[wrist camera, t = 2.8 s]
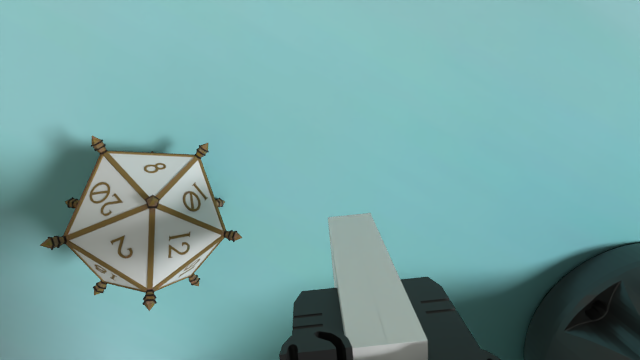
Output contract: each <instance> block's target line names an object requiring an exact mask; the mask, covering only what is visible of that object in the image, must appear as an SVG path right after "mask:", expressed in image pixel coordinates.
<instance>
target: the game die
mask: <svg viewBox="0 0 640 360" xmlns="http://www.w3.org/2000/svg"><path fill="white" fill-rule="evenodd" d="M102 141H103V140H100V139H98V138H96V137H94V136H92V145H91V147H92V146H93V147H94V150H95V151H98V152H99V153H100V156H99V158H98V160H97V163H96V165H95V167H94V169H93V171H92V174H91V176H90V178H89V180H88V182H87V185H86V187H85V189H84V191H83V193H82V196H81V198H80V200H78V199H74V198H73V197H72V198H71V199H70V200H68V201H65V203H66V204H67V205H68V208H76V209H75V211H74V213H73V215H72V218H71V220H70V222H69V224H68V226H67V229H66V231H65V233H64V235H63V236H62V237H59V236H54V237H48V239H47V240H46V241H44V242H43V243H42V244H41V245H40V246H44V247H47V248H51V250H53V248H55V247H57V248H59V247H60V245H62V244H66V245H67V246H68V247H69V248H70V249H71V250H72V251H73V252H74V253H75V254H76V255H77V256H78V257H79V258H80V259H81V260H82V261H83V262H84V263H85V264H86V265H87V266H88V267H89V268H90V269H91V270H92V271H93V272H94V273H95V274H96V275H97V276H98V277H99V278H100V280H101V281H100V282H98V283H96V286H94V287H93V288H94V295H96V294H99V293H103V291H104V289H106V284H107V283H108V284H112V285H116V286H120V287H125V288H129V289H133V290H137V291H141V292H146V295H145V297H144V298H143V300H144V302H143V305H145V306H146V307H147V309H148V310H149V311H150V310H151V308H152V307H153V306H154V304H156V301H155V299H156V296H155V295H154V291H157V290H159V289H162V288H164V287H166V286H169V285H171V284H173V283H176V282H178V281H181V280H183V279H185V278H189V282H191V285H196V286H199V280H200V278H198V275H195V274H194V272H195V271H196V270H197V269H198V268H199V267H200V265H201V264H202V263H203V262H204V261H205V260H206V258H207V257H208V256H209V255H210V254H211V253H212V251H213V250H214V249H215V248H216V247H217V246H218V244H219V243H220V242H221V241H222V240H223V239H224V238H227V239H228V240H229V241H230V240H233V242H234V241H235V240H238V239H240V238H242V237H241V236H240V235H239V234H238V233H237V231H233V230H231V231H226V229H225V226H224V223H223V220H222V217H221V215H220V212H219V209H218V207H223V204H224V203H225V201H223V200H221V199H220V198H219V199H216V200H215V198H214V195H213V192H212V189H211V187H210V184H209V181H208V178H207V175H206V173H205V170H204V167H203V164H202V161H201V157H203V156H205V154H206V153H207V152H209V151H208V143H206V144H203V145H201V146H200V145H199V148H198V149H197V152H196V154H195V155H189V154H167V153H154V152H153V151H152V152H151V153H146V152H124V151H107V150H106V148H105V144H104V143H103V142H102Z"/></svg>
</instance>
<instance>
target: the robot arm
mask: <svg viewBox="0 0 640 360" xmlns="http://www.w3.org/2000/svg"><path fill="white" fill-rule="evenodd" d="M328 223H329V234H330V244H331V254H332V265H333V275H334V285H335V288H329V289H319V290H310V291H302V292H301V293H300V295H299V296H298V298H297V299H296V301H295V302H294V310H293V331H292V336H291V337H290V338H289V339H288V340H287V341H286V342H285V343H284V344H283V346H282V348H281V351H280V354H279V357H280V360H500V359H499V358H498V357H496V356H495V355H493V354H491V353H489V352H488V351H486V350H482V349H480V347H479V345H478V344H477V342H476V341H475V339H474V337H473V336H472V334H471V333H470V331H469V329H468V328H467V326H466V325H465V323H464V321H463V320H462V318H461V317H460V315H459V313H458V312H457V311H456V310H455V307H454V305H453V304H452V302H451V301H449V298H448V296H447V294H446V293H445V291H444V290H443V288H442V286H440V285H439V284H437V283H436V282H435V281H433V280H432V279H430V278H429V277H421V278H411V279H402V280H400V278H399V276H398V273H397V271H396V269H395V267H394V265H393V262H392V260H391V258H390V256H389V253H388V251H387V249H386V247H385V245H384V242H383V240H382V238H381V236H380V233H379V231H378V229H377V227H376V225H375V222H374V220H373V218H372V216H371V213H366V214H356V215H347V216H337V217H328ZM524 360H640V243H637V244H631V245H626V246H622V247H618V248H615V249H612V250H609V251H607V252H604V253H602V254H599V255H597V256H595V257H593V258H591V259H589V260H588V261H586V262H584V263H583V264H581V265H579V266H578V267H576V268H575V269H574V270H572V271H571V272H570V273H568V274H567V275H566V276H565V277H563V278H562V279H561V280H560V281H559V282H558V283H557V284H556V285H555V286H554V287H553V288H552V289H551V290H550V292H549V293H548V294H547V295H546V297H545V298H544V299H543V301H542V302H541V304H540V305H539V307H538V308H537V310H536V312H535V314H534V316H533V318H532V320H531V322H530V325H529V328H528V331H527V335H526V340H525V347H524Z"/></svg>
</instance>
